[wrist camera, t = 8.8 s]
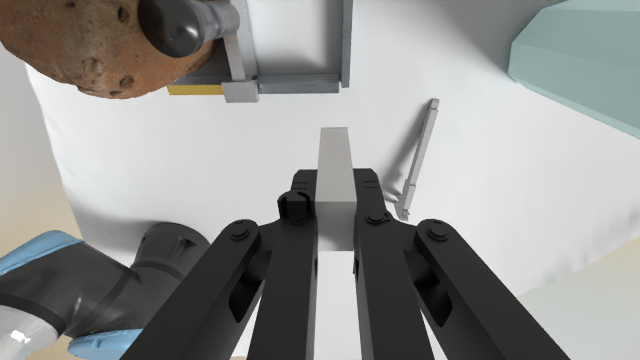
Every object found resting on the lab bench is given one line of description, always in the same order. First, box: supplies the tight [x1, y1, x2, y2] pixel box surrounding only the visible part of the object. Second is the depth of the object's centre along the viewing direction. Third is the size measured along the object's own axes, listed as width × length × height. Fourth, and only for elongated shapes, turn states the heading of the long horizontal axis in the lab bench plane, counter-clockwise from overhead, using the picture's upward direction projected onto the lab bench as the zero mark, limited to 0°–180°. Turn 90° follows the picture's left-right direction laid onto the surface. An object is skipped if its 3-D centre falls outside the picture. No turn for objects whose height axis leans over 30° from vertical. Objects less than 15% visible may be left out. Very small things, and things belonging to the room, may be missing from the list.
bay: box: [166, 0, 353, 95], centre depth 29 cm, size 23×16×5 cm
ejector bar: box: [138, 0, 259, 103], centre depth 24 cm, size 4×18×17 cm, turn 1°
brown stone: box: [0, 0, 220, 99], centre depth 23 cm, size 11×8×20 cm
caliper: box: [394, 99, 439, 221], centre depth 39 cm, size 20×1×6 cm, turn 174°
